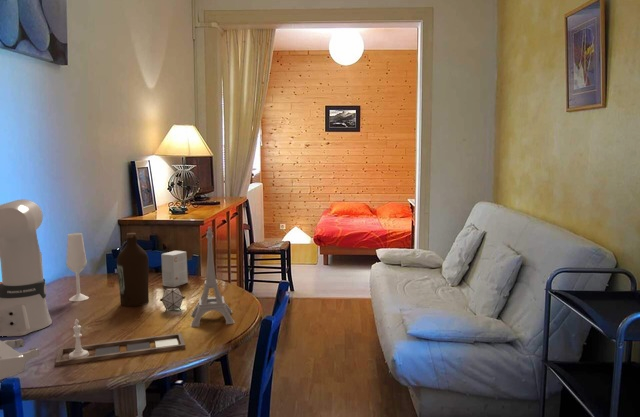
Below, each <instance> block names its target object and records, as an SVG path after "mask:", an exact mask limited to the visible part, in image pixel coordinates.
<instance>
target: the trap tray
mask: <svg viewBox="0 0 640 417" xmlns="http://www.w3.org/2000/svg"><path fill="white" fill-rule="evenodd" d="M173 338H177V340H178V345H171V346H163V347H156V346H155V347H150V348H148V349H141V350H133V351H127V350H126V351H121V352H120V351H119V352H118V353H111V354H103V355H96V356H95V355H88V356H87V357H81V358H73V359H69V358H68V359H63V357H64V354H65V353H71V352H73V351H74V350H75V345H74V346H68V347H60V348H59V350H58V352H57V357H56V360H55V367H59V366H66V365H74V364H80V363H89V362H95V361H102V360H110V359H111V360H112V359H117V358H124V357H132V356H139V355H148V354H153V353H160V352H168V351H175V350H183V349H186V344H185V343H186V342H185V340H184V337H183V334H182V333H181V332H180V333H172V334H171V333H169V334H163V335H157V336H156V335H155V336H146V337H140V338H139V337H138V338H132V339H130V338H129V339H123V340H114V341H108V342H99V343H93V344H92V343H91V344H85V345H82V344H81V347H82V349H83V350H87V351H88V350H96V348H104V347H111V346H119V347H120V346H127V344H135V343H142V342H149V343H150V342H155V341H158V340H166V339H173Z"/></svg>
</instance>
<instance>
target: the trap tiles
mask: <svg viewBox="0 0 640 417" xmlns="http://www.w3.org/2000/svg"><path fill="white" fill-rule="evenodd" d="M148 348H151V344H150V342H142V343H135V344H127V345H126V351H133V350H141V349H148ZM94 350H95V352H94V356H96V355H103V354H111V353H118V352H120V346H111V347H104V348H96V349H94Z"/></svg>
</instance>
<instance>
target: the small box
mask: <svg viewBox="0 0 640 417" xmlns="http://www.w3.org/2000/svg"><path fill="white" fill-rule="evenodd" d="M187 253H188V252H187V251H183V250H172V251H169V252H168V251H167V252H164V253H161V254H160V255H161V257H160V258H161V278H162V286H163V287H170V288H177V287H179V286H181V285H185V284H187V283H189V282H188V280H189V279H188V278H189V277H188V257H187V255H188V254H187Z"/></svg>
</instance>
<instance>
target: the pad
mask: <svg viewBox="0 0 640 417" xmlns="http://www.w3.org/2000/svg"><path fill="white" fill-rule="evenodd" d="M154 343H155V344H154V345H155V348H156V347H163V346H171V345H178V344H179V340H178V338H173V339H166V340H158V341H154Z"/></svg>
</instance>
